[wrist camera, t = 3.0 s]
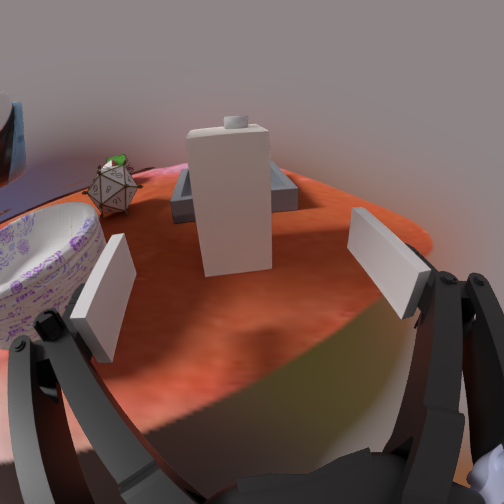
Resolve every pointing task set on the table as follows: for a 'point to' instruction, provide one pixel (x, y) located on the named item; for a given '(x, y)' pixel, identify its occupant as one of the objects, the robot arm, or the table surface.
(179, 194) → the tray
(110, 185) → the game die
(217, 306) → the table surface
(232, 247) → the carton
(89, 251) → the white round bowl
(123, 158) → the geometric puzzle
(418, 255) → the robot arm
